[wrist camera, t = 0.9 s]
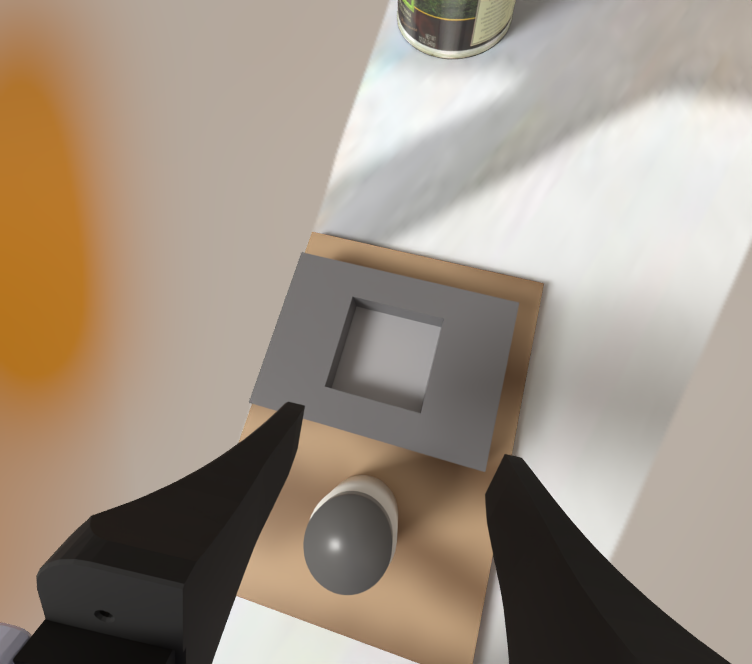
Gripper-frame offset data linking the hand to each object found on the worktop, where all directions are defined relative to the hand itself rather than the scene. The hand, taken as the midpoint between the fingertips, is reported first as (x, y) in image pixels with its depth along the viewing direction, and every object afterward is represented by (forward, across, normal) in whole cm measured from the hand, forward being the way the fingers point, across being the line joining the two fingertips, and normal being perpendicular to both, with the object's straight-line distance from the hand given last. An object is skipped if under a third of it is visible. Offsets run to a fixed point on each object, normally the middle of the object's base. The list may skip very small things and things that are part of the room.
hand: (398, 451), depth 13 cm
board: (+10, 0, +7) cm, 12 cm away
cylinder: (+6, 0, +11) cm, 12 cm away
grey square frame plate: (+12, 0, +3) cm, 12 cm away
